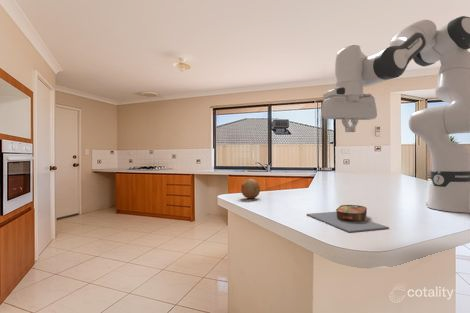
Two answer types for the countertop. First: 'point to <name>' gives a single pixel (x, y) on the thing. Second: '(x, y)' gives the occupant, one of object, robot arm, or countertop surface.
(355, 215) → the tin
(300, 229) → the countertop surface
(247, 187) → the onion
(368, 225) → the rubber mat
